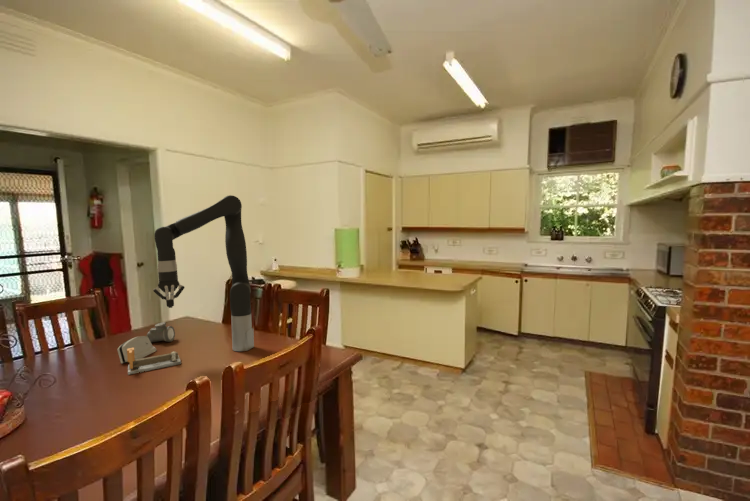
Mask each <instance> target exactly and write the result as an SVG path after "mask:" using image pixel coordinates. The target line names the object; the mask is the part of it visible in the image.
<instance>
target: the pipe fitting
mask: <svg viewBox="0 0 750 501" xmlns="http://www.w3.org/2000/svg"><path fill="white" fill-rule="evenodd" d="M146 336H147V337H148V338H149V340H150V342H151V343H157V342H163V341H165V342H166V343H167V342H169V343H171V342H173V341H174V340H175V337H176V332H175V328H174V326H172V325H168V326H167V322H166V321H162V322H158V323H155V324H154V327H152V328H150V329H149V331H148V332H147V333H146Z"/></svg>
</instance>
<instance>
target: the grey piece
mask: <svg viewBox="0 0 750 501" xmlns="http://www.w3.org/2000/svg"><path fill="white" fill-rule="evenodd" d="M128 363H129V364H128V365H127V376H129V375H135V374H137V373H138V374H139V372H140V373H144V371H145V372H148V371H154V370H158V369H163V368H168V367H173V366H177V365H181V364H182V361H181V357H180V355H179V353H178V351H171V352H170V353H165V354H159V355H154V356H146V357H143V358H141V359H137V360H135V361H133V368H132V369H130V362H128Z"/></svg>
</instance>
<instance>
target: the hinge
mask: <svg viewBox="0 0 750 501" xmlns="http://www.w3.org/2000/svg"><path fill="white" fill-rule="evenodd" d="M128 348H134V356H135V360H137V359H142V358H146V357H148V356H150V355H151V354H153V353H154V352H157V348H156V347H155V346H153V344H152V342H150V340H149V338H148V337H147V335H140V336H135V337H133V338H130V339H128V340H127V341H124V342H123V343H122V344H120V345H119V347H118V348H117V349H116V350H117V354H118V357H119V361H120V364H124V363H128V357H127V349H128Z"/></svg>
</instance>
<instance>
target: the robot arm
mask: <svg viewBox="0 0 750 501" xmlns="http://www.w3.org/2000/svg"><path fill="white" fill-rule="evenodd" d="M242 207H243V206H242V202H241V200H240V199H239V197H237V196H235V195H231V194H230V195H227V196H225V197H223V198H222V199H220V200H219V201H217V202H216V203H214V204H213V205H210V206H209V207H206V208H203V209H202V210H200V211H199V210H198V211H197V212H194V213H191V214H189V215H187V216H184V217H182V218H180V219H178V220H176V221H175V222H174V223H171V224H168V225H165V226H159V227H158V228H157V229H156V230H155V231H154V242H155V247H156V250H157V274H158V283H157V286H156V287H155V288H153V289H152V291H153V292H154V293H155V294H156V295H157V296H158V297H159V298H161V300H165V301H166V303H165V304H166V307H167V308H168V309H170V308H171V309H172V308H173V307H174V306H175V302H174V300H175V299H177V298H178V297H179V296H180V295H181V293H182V292H183V290H184V289H185V286H184V285H182V284H181V283H180V281H179V280H178V279H179V276H178V264H177V261H176V258H177V257H176V251H175V248H174V243H173V241H174V240H176V239H177V238H179V237H182V236H183V235H186V234H188V233H191V232H193V231H196V230H198V229H199V228H202V227H203V226H205V225H207V224H209V223H210V222H213V221H215V220H218V219H220V218H222V217H224V223H225V238H224V239H225V241H224V242H225V251H226V258H227V262H228V265H229V268H230V271H231V287H230V289H229V305H230V316H231V317H230V319H231V341H232V342H231V343H232V344H231V345H232V351H235V352H245V351H247V352H248V351H250V350H251V349H252V348H255V341H254V340H255V337H254V335H255V334H254V332H255V330H254V327H252V325H253V324H252V307H251V293H252V287H251V284H250V279H249V276H248V255H247V244H246V238H245V233H244V230H243V224H242ZM177 289H178V290H177ZM176 290H177V291H176ZM160 291H162V292H163V293H164V295H165V296H164V295H163V294H162V293H161V292H160ZM175 291H176V293H175Z"/></svg>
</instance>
